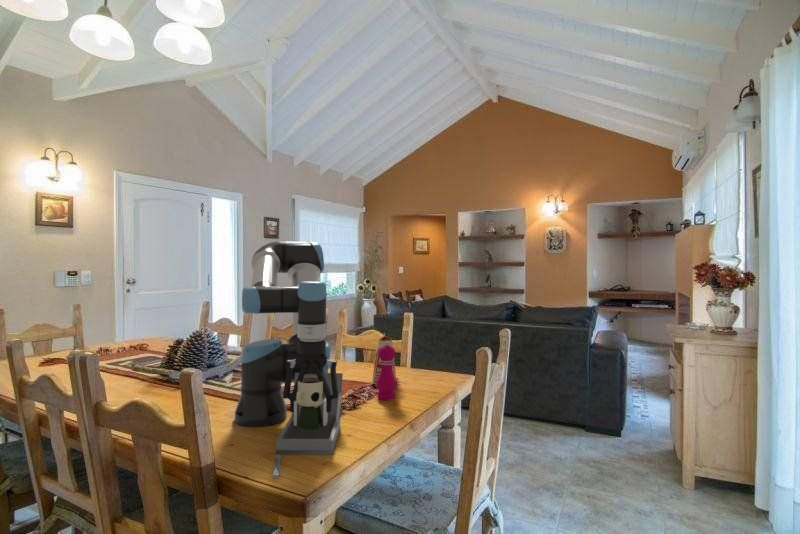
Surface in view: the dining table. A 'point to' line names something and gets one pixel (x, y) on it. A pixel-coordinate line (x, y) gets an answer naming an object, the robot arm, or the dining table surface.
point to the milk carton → (377, 359)
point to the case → (313, 440)
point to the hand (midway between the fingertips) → (310, 423)
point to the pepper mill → (386, 373)
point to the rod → (276, 467)
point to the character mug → (310, 402)
